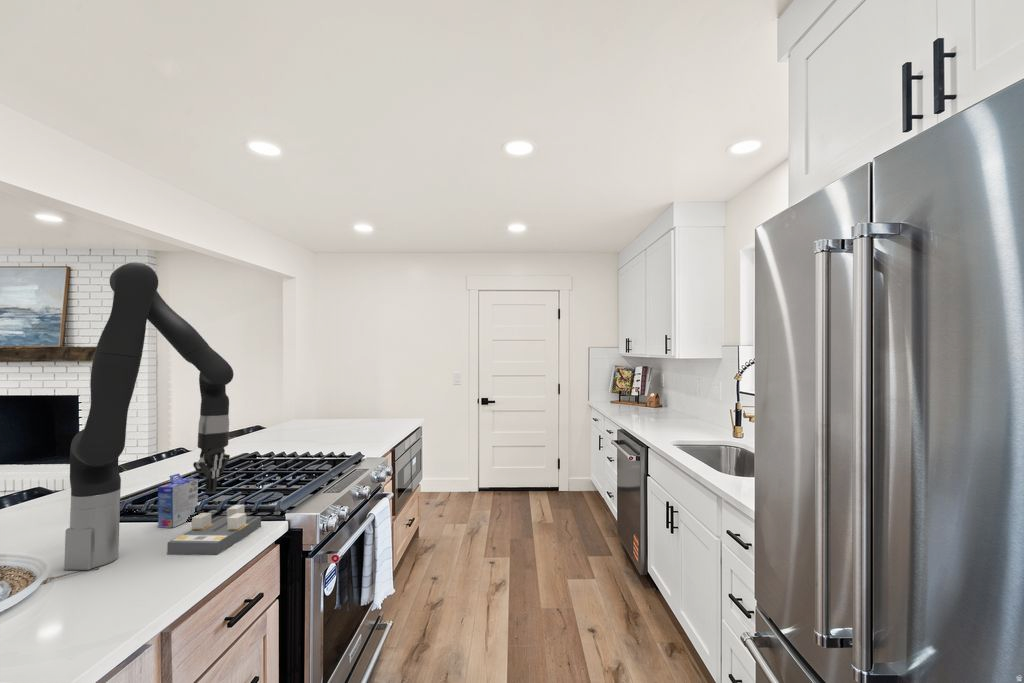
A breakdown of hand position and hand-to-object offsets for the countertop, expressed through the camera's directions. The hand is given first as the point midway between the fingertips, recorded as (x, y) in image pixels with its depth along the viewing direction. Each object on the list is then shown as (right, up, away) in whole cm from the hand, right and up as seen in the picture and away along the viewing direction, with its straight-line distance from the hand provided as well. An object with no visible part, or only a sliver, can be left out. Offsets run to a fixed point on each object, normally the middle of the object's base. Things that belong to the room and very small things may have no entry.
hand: (210, 491), depth 134 cm
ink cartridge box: (-16, -13, +9) cm, 22 cm away
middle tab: (+5, -9, +3) cm, 11 cm away
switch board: (+5, -12, -5) cm, 14 cm away
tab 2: (+10, -9, -4) cm, 14 cm away
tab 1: (0, -9, -4) cm, 9 cm away
